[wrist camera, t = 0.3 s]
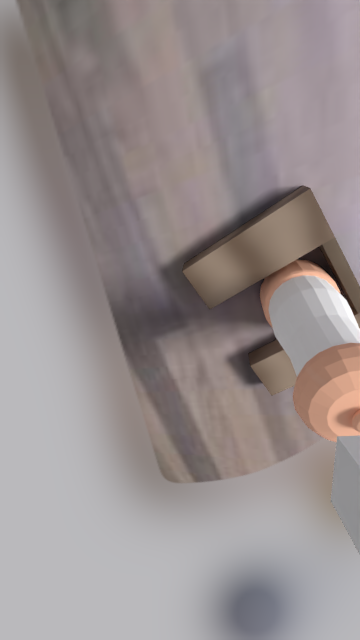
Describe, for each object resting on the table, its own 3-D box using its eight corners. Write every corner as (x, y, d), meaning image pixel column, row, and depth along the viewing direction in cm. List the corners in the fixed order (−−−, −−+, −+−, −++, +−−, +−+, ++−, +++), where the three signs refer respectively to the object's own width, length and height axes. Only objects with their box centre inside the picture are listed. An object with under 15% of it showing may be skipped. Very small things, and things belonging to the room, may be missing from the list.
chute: (303, 185, 30) (310, 188, 28) (377, 332, 36) (388, 344, 34) (184, 263, 34) (182, 271, 32) (268, 382, 40) (271, 395, 38)
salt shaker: (341, 266, 33) (475, 390, 16) (315, 327, 36) (402, 482, 19) (271, 252, 33) (331, 362, 16) (251, 315, 36) (284, 459, 19)
